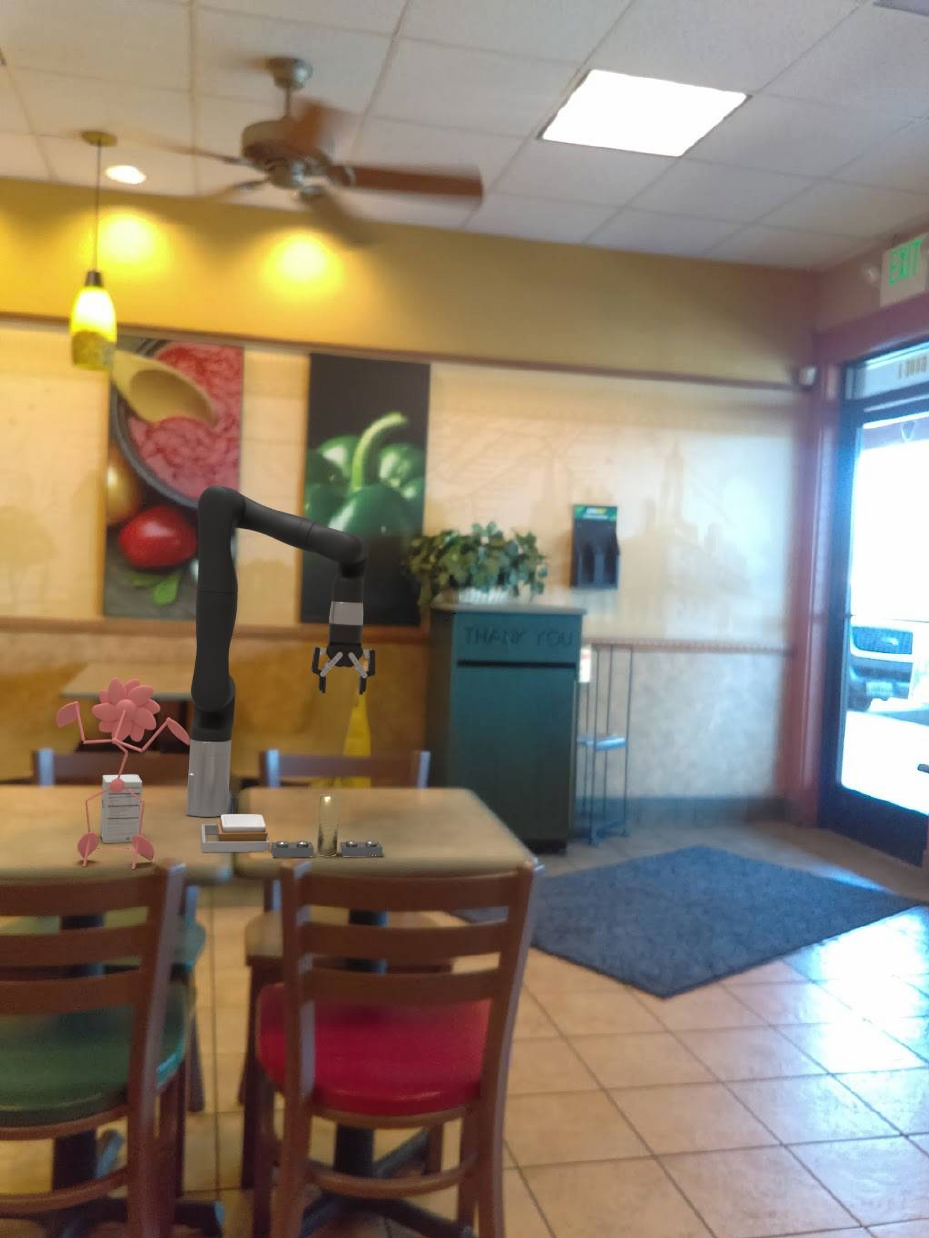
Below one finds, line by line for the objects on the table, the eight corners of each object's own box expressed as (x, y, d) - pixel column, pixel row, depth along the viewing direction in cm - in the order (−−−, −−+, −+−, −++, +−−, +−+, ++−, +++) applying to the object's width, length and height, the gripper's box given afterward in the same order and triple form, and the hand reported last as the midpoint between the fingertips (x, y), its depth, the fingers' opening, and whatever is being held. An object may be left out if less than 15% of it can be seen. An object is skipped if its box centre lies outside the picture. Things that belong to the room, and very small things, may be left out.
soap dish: (267, 851, 217) (268, 826, 217) (218, 851, 214) (219, 826, 214) (263, 836, 229) (264, 812, 229) (216, 836, 226) (217, 812, 226)
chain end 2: (342, 857, 215) (343, 844, 215) (339, 851, 219) (340, 838, 219) (382, 856, 217) (382, 844, 217) (378, 851, 221) (378, 838, 221)
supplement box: (99, 834, 221) (102, 774, 221) (136, 833, 224) (139, 773, 223) (102, 843, 214) (105, 781, 214) (140, 842, 217) (143, 780, 217)
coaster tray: (202, 852, 212) (202, 842, 212) (201, 833, 227) (201, 824, 227) (269, 851, 215) (269, 842, 215) (263, 833, 230) (264, 824, 230)
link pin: (318, 857, 214) (321, 798, 213) (315, 851, 218) (318, 793, 217) (337, 856, 215) (341, 798, 214) (335, 851, 219) (338, 793, 218)
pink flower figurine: (177, 873, 196) (187, 684, 196) (37, 866, 196) (47, 676, 196) (197, 853, 212) (206, 678, 211) (67, 847, 211) (76, 671, 211)
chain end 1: (272, 857, 211) (273, 844, 211) (271, 852, 215) (271, 839, 215) (313, 857, 213) (313, 844, 213) (310, 851, 217) (311, 839, 217)
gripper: (316, 621, 234) (312, 694, 235) (380, 624, 238) (375, 696, 239) (312, 619, 242) (308, 690, 242) (374, 622, 245) (370, 692, 246)
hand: (342, 693), depth 240 cm, fingers open, 8 cm apart
